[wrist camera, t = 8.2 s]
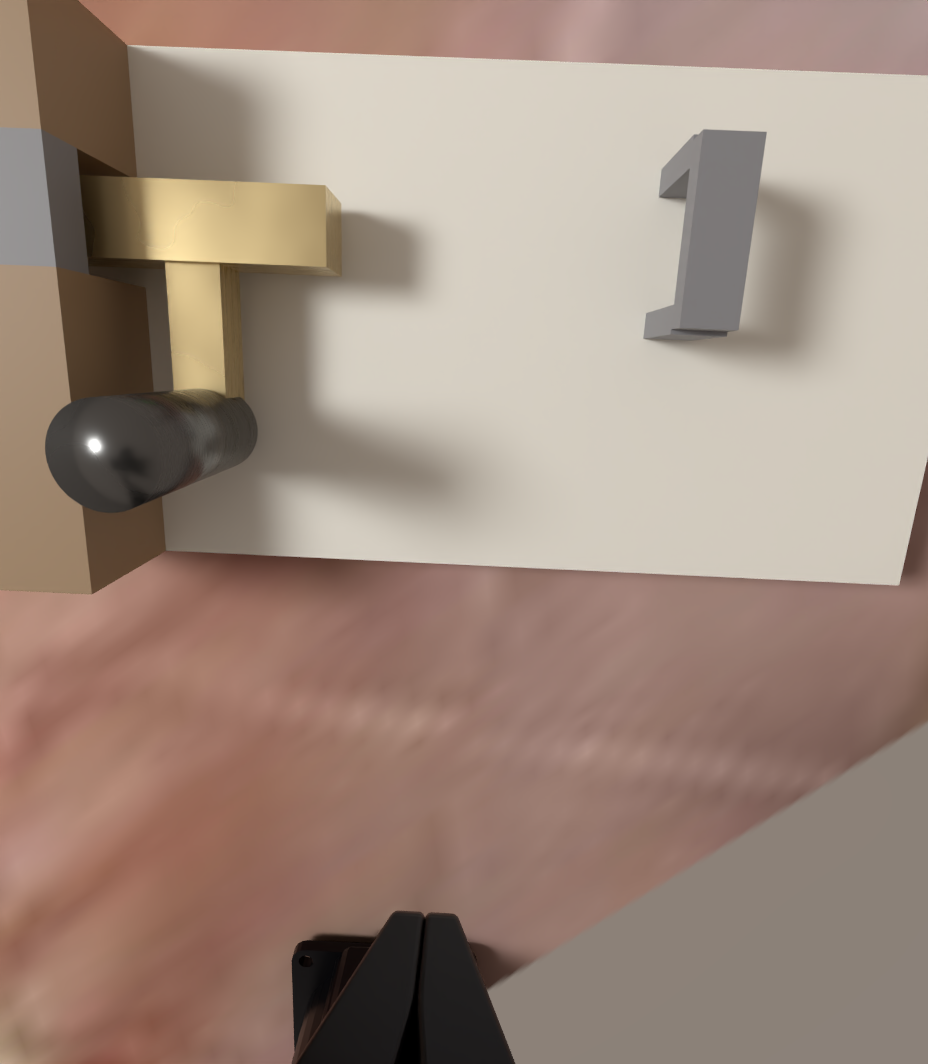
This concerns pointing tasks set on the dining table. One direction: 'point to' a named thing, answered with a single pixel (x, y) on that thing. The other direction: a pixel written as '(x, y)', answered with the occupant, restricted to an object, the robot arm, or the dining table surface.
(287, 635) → the dining table surface
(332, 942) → the robot arm
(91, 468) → the bolt
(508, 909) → the dining table surface
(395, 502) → the door board
